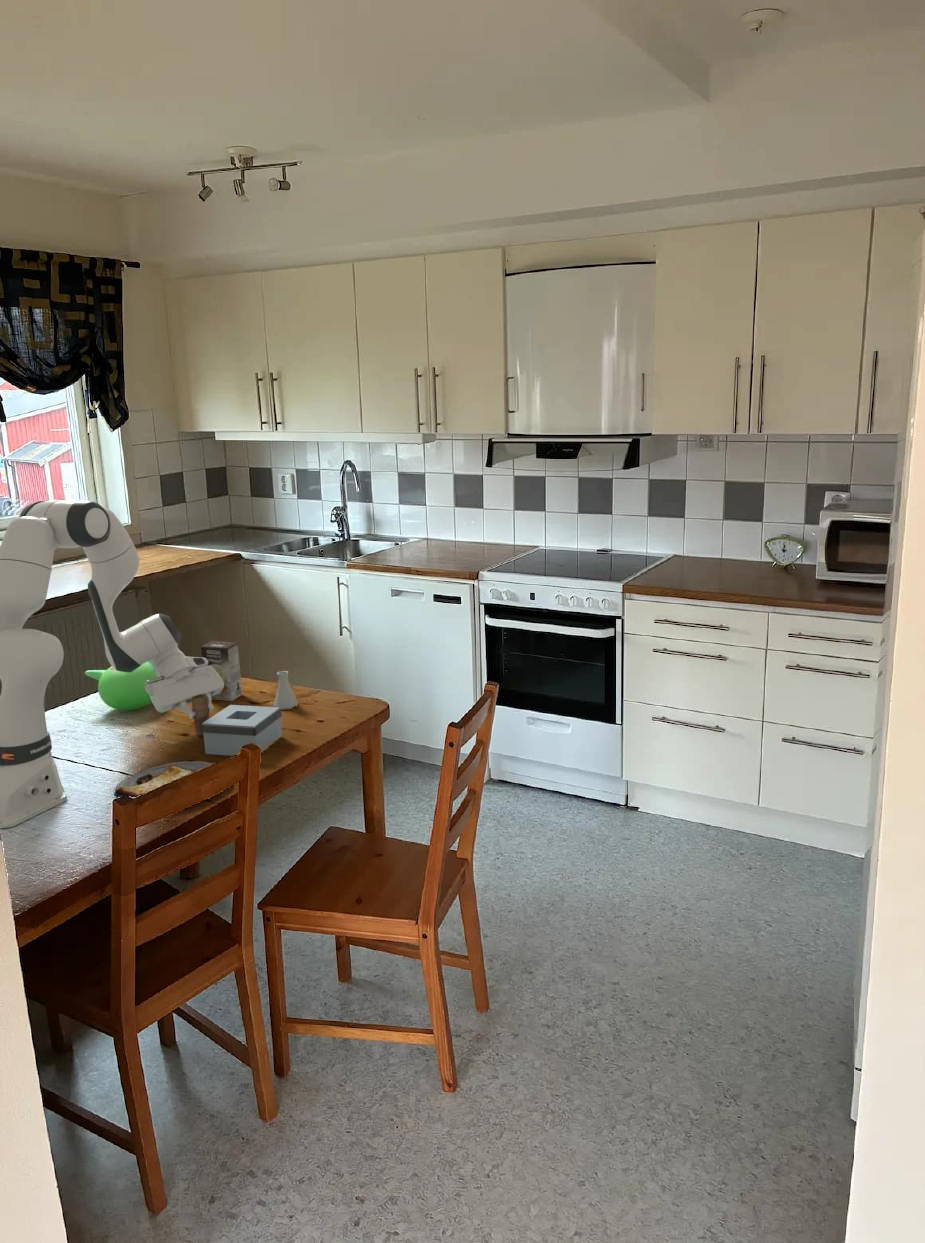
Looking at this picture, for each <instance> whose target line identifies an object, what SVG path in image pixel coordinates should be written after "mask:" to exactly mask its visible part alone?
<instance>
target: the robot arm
mask: <svg viewBox="0 0 925 1243" xmlns="http://www.w3.org/2000/svg"><path fill="white" fill-rule="evenodd" d="M57 548H61V549H75V548H82V549H83V552H84V554H85V556H86V558H87V560H88V561H89V564H90V567H91V578H90V580H89V582H88V583H87V592H88V596H89V600H90V603H91V606H92V610H93V614H94V616H95V619H96V622H97V625H98V630H99V632H100V635H101V638H102V642H103V645H104V651H105V656H106V659H107V662H108V663H109V664H110V666H113V667H114V668H115V670H117V671H121V672H132V671H134V670H135V669H137V668H138V667H140V666H141V665H142V664H144V663H146V662H150V663H151V665H152V666H153V670H154V672H155V674H156V675H157V677H158V678H155V679H151V680H148V681H147V683H146V684H145V690H146V691H147V693H148V694H149V695H150V698H151V700H152V705H153V706H154V708H155V709H156V711H157V712H159V713H162V714H163V713H166V712H168V711H171V710H174V709H178V710H179V711H180V712H182V713H183V714H185V715H187V716H188V717H189V719H194V718H195V717H196V716H197V712H196V711H195V709H193V708H191V707H189V706H187V705H188V704H192V697H193V696H196V695H199V694H205V695H207V696H208V706H209V713H212V712H213V711H214V710H215V707H214V705H213V704H212V699H211V696H213V695H216V694H219V693H220V692H221V691H222V690H223V688H224V682H223V680H222V678H221V677H220V676H219V674H218V673H217V672H216V670H215V669H214V668H213V667H211V666H208V660H207V659H206V658H204V657H202V656H201V657H199V656H186V654H184V652H183V651H182V650H180V648H179V645H180V641H181V638H182V633H181V632H180V630H179V628H177V626H176V624H174V622H173V621H172V617H170V616H169V615H166V614H163V613H156V614H152V615H150V616H149V617H147V618H145V619H142V620H140V621H139V622H138V623H136V624H135V625H133V626H130V627H129V628H127V629H124V630H123V631H119V627H118V623H117V621H116V618H115V615H114V611H113V605H114V603H115V601H116V599H117V598H118V596H119V595H120V594H121V592H122V591H123V590H124V589H125V588H126V587H127V586H128V585H129V584H130V583H131V582H132V581H133V579H134V578H135V576H136V575H137V573H138V570H139V567H140V557H139V553H138V551H137V548H136V546H135V544H134V542H133V540H132V538H131V536H130V535H129V532H128V531H127V530H126V528H125V527H124V525H123V523H122V522H121V521H120V519H119V518H118V517H117V515H116V514H115V513H114V512H113V511H112V510H111V509H110V508H107V507H105V506H102V505H101V504H99V503H98V502H95V501H93V500H89V499H88V500H87V499H79V500H78V499H77V500H75V499H64V498H62V499H60V498H59V499H52V500H47V501H43V500H40V501H35V502H33V503H30V504H28V505H26V506H25V507H24V508H23V509H22V510H21V512H20V514H19V517H16V518H14V519H12V520H11V521H10V522H9V524H8V525H7V528H6V530H5V532H4V536H3V537H2V540H1V543H0V681H1V692H0V829H6V828H13V827H15V826H17V825H19V824H21V823H23V822H25V821H27V820H30V819H32V818H35V817H36V816H38V815H40V814H42V813H44V812H46V811H48V810H50V809H52V808H54V807H56V806H58V805H60V804H62V803H64V802H65V801H67V800H68V796H67V793H65V788H64V786H63V785H62V781H61V779H60V778H61V777H60V775H59V771H58V767H57V764H56V761H55V760H54V757H53V755H52V751H51V750H52V749H53V745H52V744H53V743H52V739H51V735H50V732H48V727H47V721H46V720H47V719H46V712H45V711H46V710H45V695H46V689H47V687H48V684H49V682H50V681H51V679H52V678H53V677H54V676H55V675H56V674H57V673H58V672H59V671H60V669H61V667H62V665H63V662H64V656H65V655H64V654H65V653H64V648H63V645H62V643H61V641H60V639H59V638H58V637H57V636H55V635H54V634H51V633H48V632H45V631H41V630H39V629H35V628H34V629H33V628H23V627H24V626H25V623H26V622H27V621H28V619H29V618H30V617H31V616H32V615H33V614H35V613H36V612H38V611H39V610H41V609H42V608H43V607H44V605H45V603H46V600H47V595H48V591H49V584H50V581H51V574H52V569H53V562H54V555H55V551H56V549H57Z"/></svg>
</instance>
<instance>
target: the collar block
mask: <svg viewBox="0 0 925 1243" xmlns="http://www.w3.org/2000/svg"><path fill="white" fill-rule="evenodd" d="M282 716H283V714H282V710H281V709H280V708H279V707H273V706H260V705H240V704H229V705H228V706H227V707H225V708H223V709H222V710H220V711H219V712H217V713H215V714H214V715H213V716H210V718H209V719H208V720H206V721H205V722H203V723H202V725H201V730H202V732H203V735H204V736H203V742H204V743H203V744H204V752H205V755H217V756H232V757H235V756H234V755H237V754H238V753H239V751H240V749H242V746H243V745H246V744H249V743H255V744H257V745H258V746H260V748H261V749H262V752H263V749H265V748H266V747H267V746H268V745H270V744H271V743H272V742H273V741H276V740H277V738H278V737H281V736H282V737H283V729H282ZM263 753H264V752H263Z"/></svg>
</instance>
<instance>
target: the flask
mask: <svg viewBox="0 0 925 1243" xmlns="http://www.w3.org/2000/svg"><path fill="white" fill-rule="evenodd" d="M276 675H277V678H278V684H277V688H276V694H275V695H276V696H275V698H274V702H273V706H272V707H279V708H280V709H281V711H282V710H292V709H294V708H296V707H298V705H299V701H298V699H297V698H296V696H295V695H296V694H295V693H294V691H293V689H292V687H291V684H290V681H289V677H288V676H289V671H287V670H281V671H278V672H276ZM295 706H296V707H295ZM293 707H294V708H293Z"/></svg>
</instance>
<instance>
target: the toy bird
mask: <svg viewBox="0 0 925 1243" xmlns="http://www.w3.org/2000/svg"><path fill="white" fill-rule="evenodd" d="M84 674H85V675H86V676H87V677H90V678H92V679H94V680H96V681H98V684H97V691H98V694H99V697H100V699H101V700H102V701H103V703H104V704H105V705H106V706H108V707H110V708H112V709H114V710H119V711H133V710H137V709H138V710H139V709H141V708H143V707H144V708H145V707H146V706H149V705H150V704H151V703H152V700H151V698H150V695H149V694H148V693H147V691H146V690H145V684H146V683H147V681H148V680H151V679H155V678H158V677H157V675H156V674H155V672H154V670H153V666H152V665H151V663H150V662H148V661H147V662H146V663H144V664H142V665H141V666H140V667H138V668H137V669H135V670H134V671H132V672H121V671H117V670H115V668H114V667H113V666H112V665H110V667H109V668H107V669H92V670H91V669H90V670H86V671H85V672H84ZM152 704H153V703H152Z"/></svg>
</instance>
